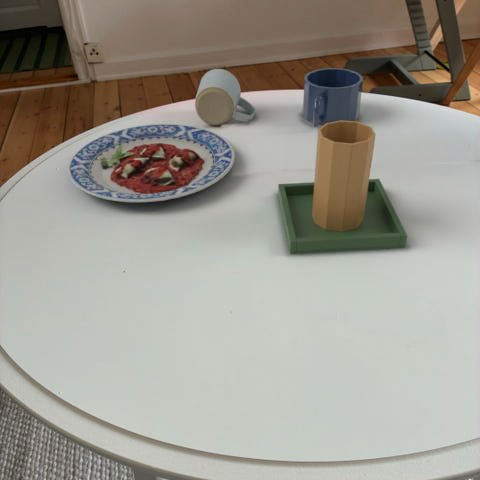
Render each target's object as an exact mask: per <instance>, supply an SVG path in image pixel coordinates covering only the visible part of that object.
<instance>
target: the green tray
mask: <svg viewBox="0 0 480 480" xmlns="http://www.w3.org/2000/svg"><path fill="white" fill-rule="evenodd" d="M277 185H278V186H277V197H278V202H279V207H280V211H281V217H282V222H283V227H284V231H285V235H286V242H287V247H288V253H289V255H301V254H302V255H303V254H320V253H336V252H353V251H356V252H357V251H371V250H389V249H390V250H392V249H406V244H407V239H408V234H407V232H406V229H405V228H404V226H403V224H402V222H401V220H400V218H399V216H398V214H397V212H396V210H395V208H394V206H393V204H392V202H391V200H390V198H389V196H388V194H387V192H386V189H385V188H384V186H383V184H382V182H381V179H380V178H369V184H368V191H367V197H366V204H365V211H364V218H363V221H362V222H361V224H360V225H359V226H358V227H357V228H355V229H351V230H347V231H343V232H340V231H332V230H325V229H324V228H322V227H320V226H319V225H317V224H315V223H314V220H313V216H312V209H313V195H314V182H313V181H312V182H294V183H293V182H292V183H278V184H277Z"/></svg>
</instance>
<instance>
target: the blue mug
mask: <svg viewBox="0 0 480 480" xmlns="http://www.w3.org/2000/svg"><path fill="white" fill-rule="evenodd" d="M363 83H364V79H363V75H361V74H360V73H359V72H357V71H354V70H352V69H351V70H350V69H346V68H340V67H339V68H338V67H332V68H331V67H329V68H328V67H327V68H320V69H314V70H312V71H309V72H307V74H305V75H304V79H303V97H302V98H303V99H302V117H303V118H304V119H305V121H307V122H309V123H311V124H312V126H313V128H318V127H319V126H321V127H322V126H323V125H325V124H326V123H330V122H335V121H340V120H343V121H357V120H358V119H359V117H360V110H361V108H360V107H361V100H362V92H363V85H364V84H363Z"/></svg>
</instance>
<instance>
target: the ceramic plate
mask: <svg viewBox="0 0 480 480" xmlns="http://www.w3.org/2000/svg"><path fill="white" fill-rule="evenodd" d="M76 151H77V152H75V154H73V156H72V157H71V159H70V160H69V163H68V167H67V171H68V176H69V178H70V180H71V183H73V184H74V185H75V186H76V187H77V188H78V189H79V190H81V191H83V192H85V193H86V194H87V195H88V194H89V195H91V196H94V197H96V198H99V199H103V200H108V201H113V202H120V203H121V202H123V203H152V202H153V203H154V202H162V201H167V200H172V199H178V198H182V197H185V196H188V195H192V194H195V193H198V192H200V191H203V190H205V189H206V188H208V187H210V186H212V185H214V184H216V183H217V182H219V181H220V180H221V179H223V178H224V177H225V176H226V175H227V174H228V173H229V172H230V170H231V169H232V168H233V167H234V166H233V165H234V163H235V159H236V152H235V149H234V147H233V146H232V144H231V143H230V142H229V140H227V139H226V138H225V137H224V136H222V135H220V134H219V133H216V132H214V131H212V130H210V129H207V128H203V127H199V126H196V125H188V124H187V125H186V124H179V123H152V124H143V125H137V126H131V127H125V128H122V129H119V130H115V131H111V132H109V133H106V134H104V135H101V136H99V137H96V138H95V139H93V140H91V141H89V142H87V143H86V144H84V146H82V147H81V148H80V149H78V150H76Z"/></svg>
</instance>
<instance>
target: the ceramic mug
mask: <svg viewBox="0 0 480 480" xmlns="http://www.w3.org/2000/svg"><path fill="white" fill-rule="evenodd" d="M241 93H242V90H241V84H240V83H239V80H238V79H237V77H236V76H235V75H234V74H233V73H231V72H230V71H229V70H226V69H224V68H214V69H211V70H209V71H207V72H205V73H204V75H203V76H202V77H201V80H200V82H199V86H198V89H197V93H196V95H195V98H194V99H195V100H194V107H195V108H194V109H195V112H196V114H197V116H198V117H199V118H200V119H201V121H202V122H204V123H205V124H208V125H209V126H215V127H216V126H221V125H224V124H226V123H228V122H229V121H230V120H231V119H233V120H235V121H238V122H242V123H247V122H250V121H252V120H253V119H254V118H255V116H256V114H257V113H256V112H257V111H256V108H255V106H254V105H253V104H251V102H249V101H248V100H247V99H245V98H243V97H242V96H241ZM238 106H239V107H240V108H242V109H243V110H244V111H247V113H249V114H245V113H243V112H240V111H237V107H238Z"/></svg>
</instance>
